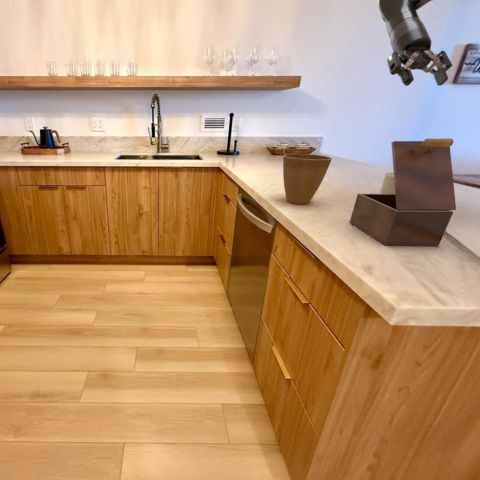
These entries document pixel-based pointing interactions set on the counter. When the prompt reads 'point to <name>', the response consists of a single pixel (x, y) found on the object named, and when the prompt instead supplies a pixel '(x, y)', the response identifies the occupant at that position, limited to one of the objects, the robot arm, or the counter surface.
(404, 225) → the bread box
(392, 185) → the cream yellow block
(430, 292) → the counter surface
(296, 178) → the plant pot
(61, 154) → the counter surface
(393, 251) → the counter surface
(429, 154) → the box lid
